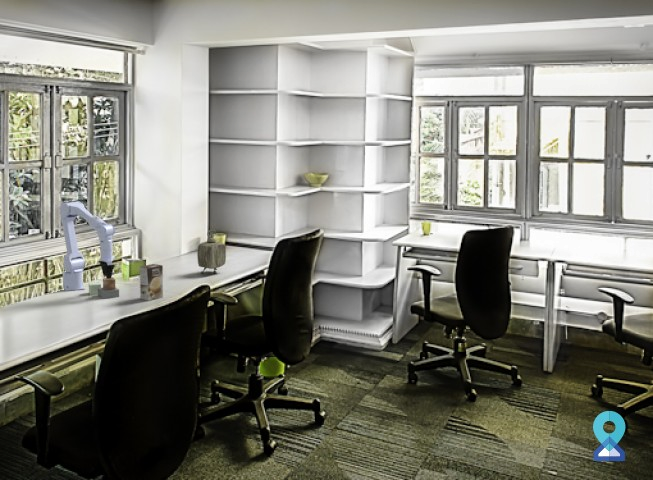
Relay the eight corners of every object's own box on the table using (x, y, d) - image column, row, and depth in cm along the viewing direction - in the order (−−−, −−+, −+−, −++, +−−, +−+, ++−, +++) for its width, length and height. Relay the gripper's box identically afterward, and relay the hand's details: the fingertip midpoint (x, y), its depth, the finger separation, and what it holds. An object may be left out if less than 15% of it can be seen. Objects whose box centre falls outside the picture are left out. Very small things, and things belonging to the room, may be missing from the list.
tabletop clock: (215, 270, 415) (215, 227, 411) (227, 272, 410) (227, 229, 406) (197, 274, 404) (197, 230, 399) (209, 276, 399) (208, 232, 394)
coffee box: (149, 301, 346) (148, 268, 343) (140, 298, 349) (139, 266, 346) (163, 297, 353) (162, 265, 350) (154, 295, 357) (153, 263, 354)
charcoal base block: (102, 299, 348) (102, 291, 347) (98, 295, 354) (97, 288, 354) (119, 297, 352) (119, 289, 351) (114, 294, 359) (114, 286, 358)
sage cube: (90, 295, 354) (90, 285, 354) (88, 292, 359) (88, 283, 358) (101, 294, 357) (100, 284, 356) (99, 292, 361) (98, 282, 360)
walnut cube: (105, 290, 349) (104, 280, 348) (103, 288, 354) (102, 278, 353) (115, 289, 352) (115, 279, 351) (113, 287, 356) (113, 277, 355)
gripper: (118, 251, 346) (118, 279, 349) (111, 246, 359) (112, 272, 361) (102, 252, 343) (103, 280, 346) (97, 247, 356) (97, 274, 358)
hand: (107, 276), depth 353 cm, fingers open, 7 cm apart
